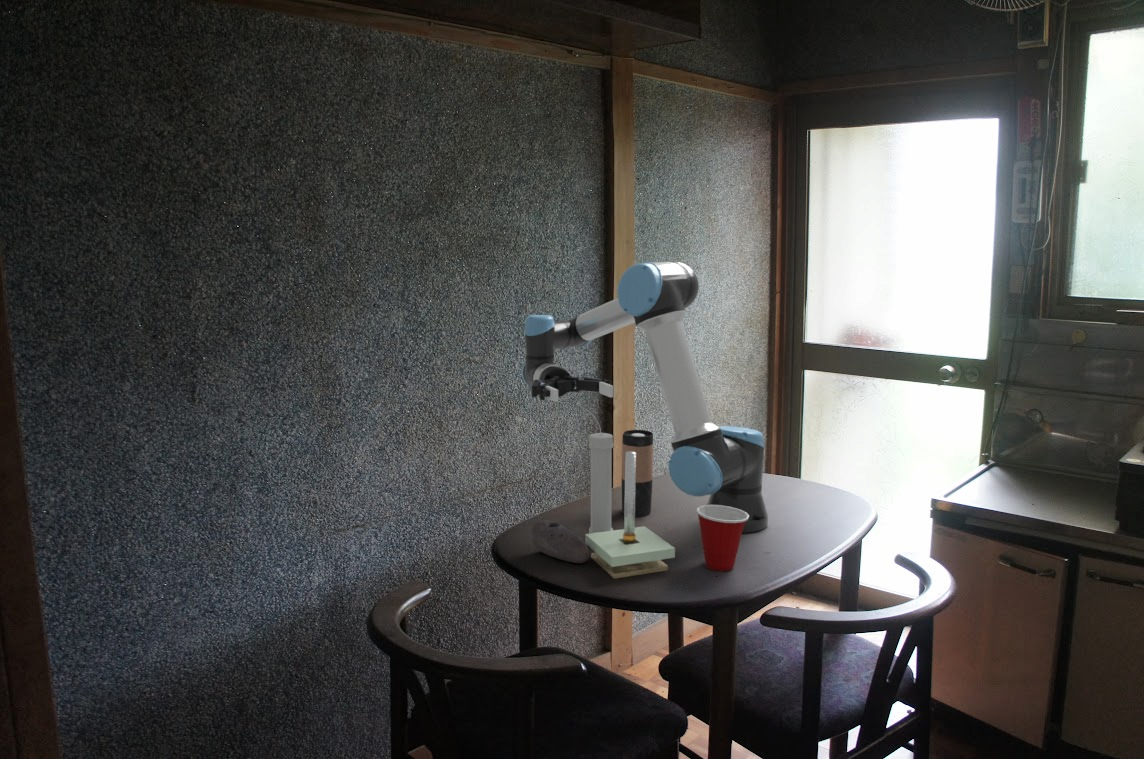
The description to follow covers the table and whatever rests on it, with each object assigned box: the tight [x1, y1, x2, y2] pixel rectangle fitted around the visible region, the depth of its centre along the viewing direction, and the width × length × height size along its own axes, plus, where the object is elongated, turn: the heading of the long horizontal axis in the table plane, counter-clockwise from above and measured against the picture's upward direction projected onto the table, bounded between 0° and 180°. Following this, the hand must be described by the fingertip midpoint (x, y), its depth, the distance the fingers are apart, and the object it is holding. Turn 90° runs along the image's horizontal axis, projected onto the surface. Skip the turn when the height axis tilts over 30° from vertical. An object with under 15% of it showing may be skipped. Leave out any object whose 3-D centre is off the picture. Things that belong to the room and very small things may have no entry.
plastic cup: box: [695, 504, 749, 572], centre depth 177 cm, size 11×11×12 cm
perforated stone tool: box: [531, 519, 590, 564], centre depth 181 cm, size 15×5×7 cm, turn 44°
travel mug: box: [621, 429, 654, 517], centre depth 210 cm, size 8×8×20 cm
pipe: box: [585, 409, 614, 534], centre depth 190 cm, size 6×6×30 cm
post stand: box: [590, 451, 669, 579], centre depth 177 cm, size 12×12×24 cm
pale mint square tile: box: [584, 526, 676, 567], centre depth 178 cm, size 14×14×2 cm
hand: (584, 393), depth 196 cm, fingers open, 13 cm apart
